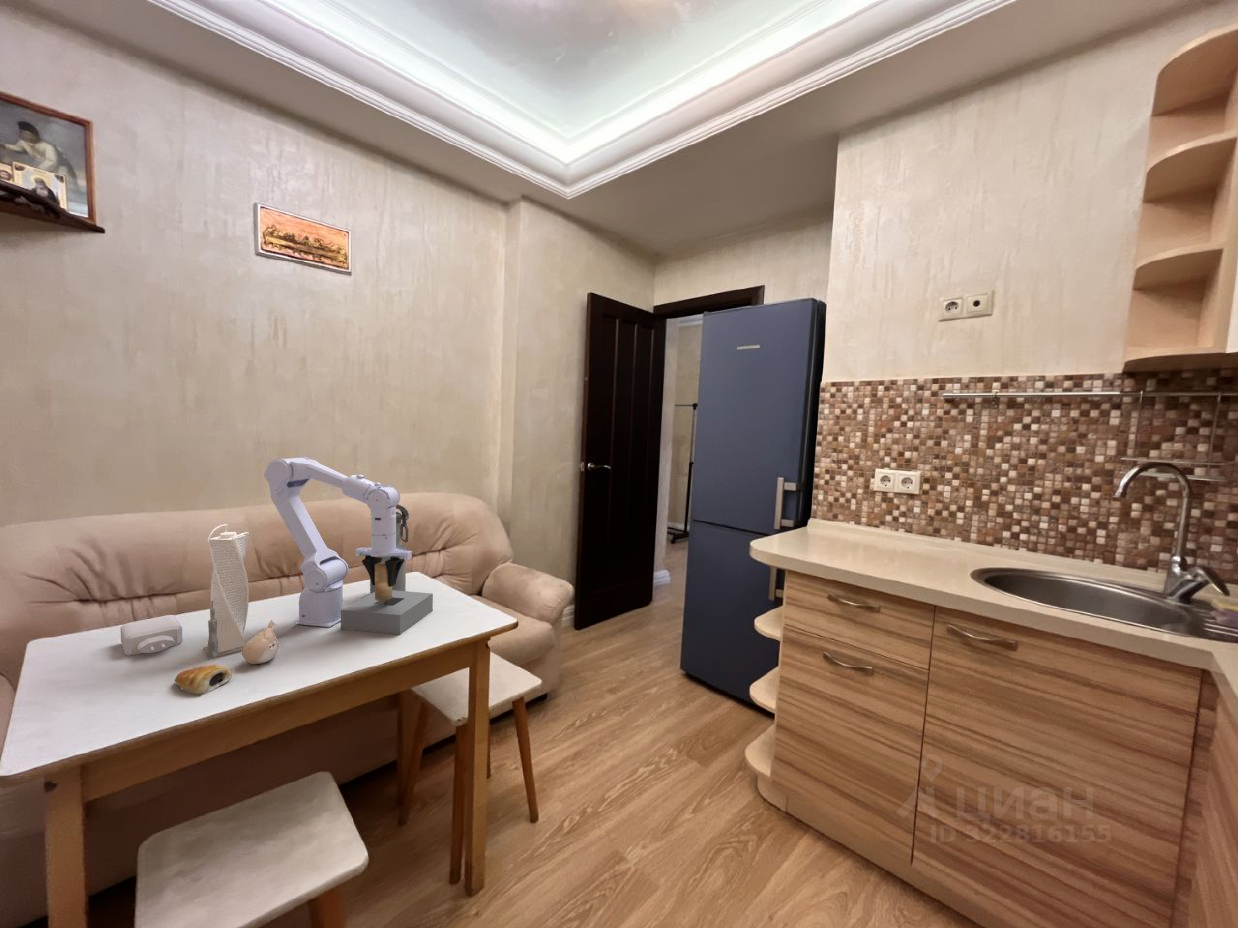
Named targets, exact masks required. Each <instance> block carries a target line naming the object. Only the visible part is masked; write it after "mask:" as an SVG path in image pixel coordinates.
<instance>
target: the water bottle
mask: <svg viewBox="0 0 1238 928" xmlns="http://www.w3.org/2000/svg"><path fill="white" fill-rule="evenodd" d="M396 510H399V511H400V512H401V513H400V512H399V511H396V548H397V549H402V550H407V547H406V545H405V544H404V543H408V542H409V527H408V524H407V521H408V520H409V518H410V515H409V514H410V513H409V511H408V509H406V507H404V506H403V505H400V504H399V503H398V504H397V505H396ZM404 529H405V537H404ZM401 541H403V542H404V543H402V542H401ZM387 560H390V558H382V561H381V562H385V561H387ZM406 566H407V560H405V561H404V562H403V564H402V566H401V568H400V570H399V573H398V576H397V580H396V584H395V585H393V586H392V590H396V591H407V590H406V582H407V581H406V579H407V578H406V575H407V574H406V570H407V569H406V568H407V567H406ZM369 579H370V578H369ZM374 592H375V585H372V583H371V579H370V580H369V595H370V594H372V593H374Z"/></svg>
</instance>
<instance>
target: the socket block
mask: <svg viewBox="0 0 1238 928" xmlns="http://www.w3.org/2000/svg"><path fill="white" fill-rule="evenodd" d="M433 597H434V593H429V592H418V591H417V592H416V591H407V590H405V591H396V590H392V598H391V599H388V600H384V601H377V600H375V592H374V593H372V594H370V593H369V594H368V595H366V596H365V597H362V598H361V599H359V600H356V601H354V602H352V603H351V604H349V605H347V606H346V607H343V609H341V621H340V629H341V630H347V631H356V632H359V631H360V632H367V633H368V632H369V633H379V634H390V635H398V636H399V635H402V634H403V633H404V632H406V631H407V630H409V629H410V628H411V627H413V626H415V624H417V623H418V622H419V621H421V620H423V618H425V617H426V616H427V615H429V614H430V613H432V612H433V610H434V607H433V606H434V605H433V602H434V599H433Z"/></svg>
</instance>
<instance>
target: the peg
mask: <svg viewBox="0 0 1238 928" xmlns="http://www.w3.org/2000/svg"><path fill="white" fill-rule="evenodd" d="M391 598H392V587H388V573H387V568H386V565H385V562H380V563H377V564H375V600H377V601H384V600H388V599H391Z"/></svg>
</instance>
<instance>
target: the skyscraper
mask: <svg viewBox="0 0 1238 928" xmlns="http://www.w3.org/2000/svg"><path fill="white" fill-rule="evenodd" d="M223 527H225V528H224V532H221V533H220V534H219V536H215V537H212V535H213V533H214V532H215V531H217V530H218V529H220V528H223ZM228 529H229V524H227V523H224V524H219V525H218V526H216V527H215V528H214V527H213V529H212V530H211V532H209V535H208V537H207V540H206V541H207V545H208V549H209V553H210V558H211V562H212V567H213V569H212V574H211V579H210V581H211V582H210V608H209V616H210V617H209V618H210V619H209V620H207V626H208V628H207V629H208V640H207V646H203V647H202V650H203V652H204V654H205V656H206V658H207V660H208V661H211V660H214V659H215V660H216V659H218V658H219V659H220V658H223V657H227V656H231V655H234V654H235V655H236V654H239V653H242V650H243V647H244V645H245V644H246V643H247V642H246V640H245V638H244V634H245V630H246V629H245V628H246V624H247V619H248V611H249V610H248V609H249V602H250V601H249V600H250V598H249V597H250V590H249V589H250V588H249V580H248V573H247V570H246V567H245V563H244V561H245V557H246V554H247V553H246V552H247V549H248V543H249V539H250V532H248V531H245V532H242V533H239V534H237V532H236V531H228Z"/></svg>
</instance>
